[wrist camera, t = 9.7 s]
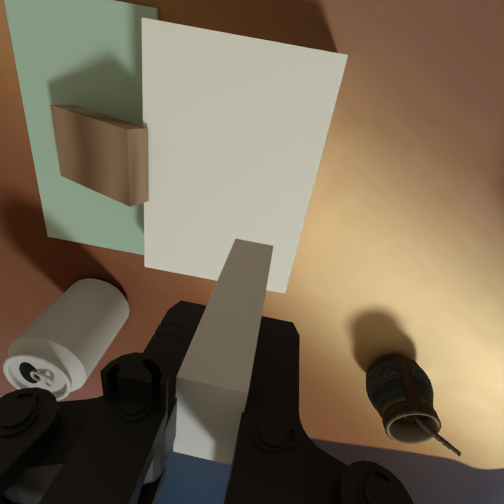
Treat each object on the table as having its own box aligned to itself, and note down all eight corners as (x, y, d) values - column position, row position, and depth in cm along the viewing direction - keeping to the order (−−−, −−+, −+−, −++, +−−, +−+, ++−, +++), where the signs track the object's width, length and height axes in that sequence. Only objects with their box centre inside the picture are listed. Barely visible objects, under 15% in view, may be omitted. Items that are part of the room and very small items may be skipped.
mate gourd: (363, 346, 38) (386, 424, 30) (428, 346, 37) (473, 427, 29) (357, 386, 42) (377, 467, 33) (418, 387, 41) (454, 471, 32)
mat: (158, 9, 24) (156, 8, 24) (156, 254, 35) (154, 257, 34) (5, -19, 24) (0, -21, 24) (50, 234, 35) (47, 236, 35)
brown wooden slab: (148, 128, 24) (127, 129, 23) (148, 201, 27) (130, 206, 26) (73, 104, 28) (50, 104, 26) (80, 172, 31) (60, 175, 29)
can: (69, 268, 37) (-17, 343, 27) (131, 281, 37) (70, 360, 27) (76, 316, 41) (3, 398, 30) (133, 327, 41) (79, 414, 30)
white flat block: (339, 58, 24) (348, 55, 21) (285, 271, 34) (284, 293, 31) (162, 25, 25) (141, 17, 21) (159, 247, 34) (144, 266, 31)
